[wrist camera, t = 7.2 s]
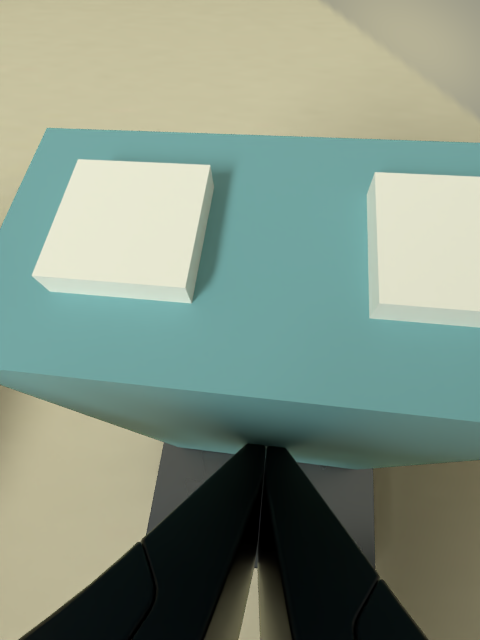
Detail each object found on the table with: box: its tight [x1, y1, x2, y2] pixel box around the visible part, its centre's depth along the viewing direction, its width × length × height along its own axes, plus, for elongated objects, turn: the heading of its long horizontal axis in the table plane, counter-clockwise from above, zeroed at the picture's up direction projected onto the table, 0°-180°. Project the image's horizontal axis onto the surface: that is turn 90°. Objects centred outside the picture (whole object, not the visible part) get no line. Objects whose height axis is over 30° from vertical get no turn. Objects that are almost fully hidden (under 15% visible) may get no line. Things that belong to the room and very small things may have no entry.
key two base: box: [146, 442, 375, 569], centre depth 12 cm, size 8×7×4 cm
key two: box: [0, 128, 480, 470], centre depth 8 cm, size 3×6×10 cm, turn 84°
